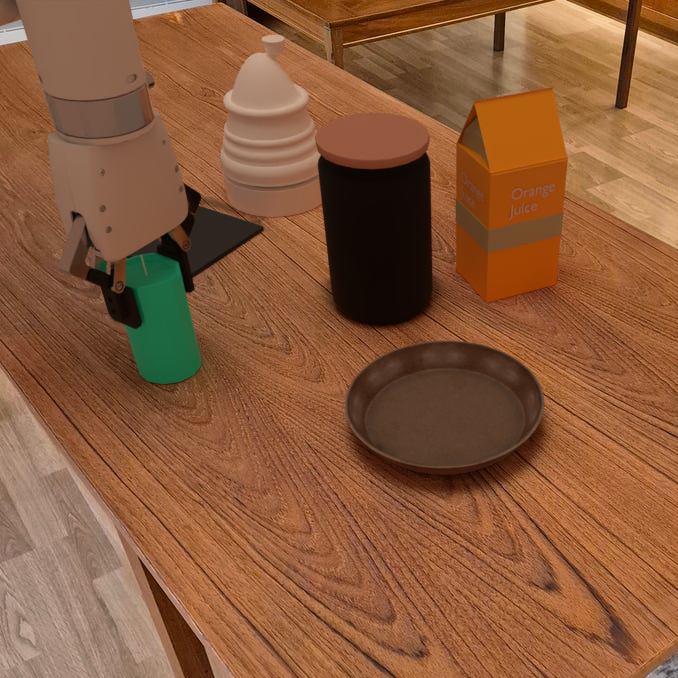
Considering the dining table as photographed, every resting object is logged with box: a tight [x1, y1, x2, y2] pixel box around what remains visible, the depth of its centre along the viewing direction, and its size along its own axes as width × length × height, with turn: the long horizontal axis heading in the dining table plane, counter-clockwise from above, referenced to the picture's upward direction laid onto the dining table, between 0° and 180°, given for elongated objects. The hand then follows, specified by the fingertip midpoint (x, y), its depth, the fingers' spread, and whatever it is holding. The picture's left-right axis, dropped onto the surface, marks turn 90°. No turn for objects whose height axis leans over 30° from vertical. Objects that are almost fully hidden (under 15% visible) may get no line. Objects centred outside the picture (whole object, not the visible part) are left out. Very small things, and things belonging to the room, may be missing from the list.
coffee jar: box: [315, 111, 434, 327], centre depth 89 cm, size 11×11×18 cm
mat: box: [127, 205, 265, 278], centre depth 103 cm, size 13×13×1 cm
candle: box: [124, 252, 203, 385], centre depth 82 cm, size 6×6×12 cm
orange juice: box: [455, 87, 569, 304], centre depth 92 cm, size 8×9×20 cm
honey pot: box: [219, 34, 322, 218], centre depth 106 cm, size 13×13×18 cm
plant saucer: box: [344, 340, 545, 476], centre depth 80 cm, size 18×18×3 cm
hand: (154, 303), depth 81 cm, fingers closed on candle, 6 cm apart
